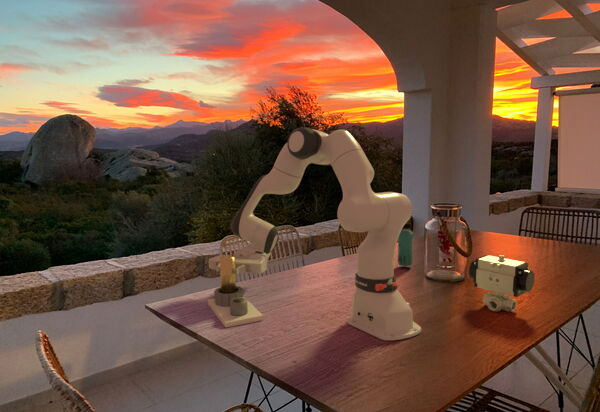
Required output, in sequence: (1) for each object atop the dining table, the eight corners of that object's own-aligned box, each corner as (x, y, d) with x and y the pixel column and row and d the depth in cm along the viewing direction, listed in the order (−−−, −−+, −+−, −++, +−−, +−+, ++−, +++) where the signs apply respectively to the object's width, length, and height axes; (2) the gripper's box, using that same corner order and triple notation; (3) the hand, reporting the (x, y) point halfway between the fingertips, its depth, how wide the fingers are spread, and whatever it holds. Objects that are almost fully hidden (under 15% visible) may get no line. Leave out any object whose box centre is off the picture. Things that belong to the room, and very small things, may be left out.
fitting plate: (263, 320, 130) (262, 302, 130) (225, 327, 125) (224, 309, 125) (241, 297, 150) (240, 282, 149) (207, 303, 145) (206, 287, 144)
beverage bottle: (412, 265, 188) (413, 221, 185) (412, 270, 181) (413, 224, 179) (397, 265, 189) (398, 221, 187) (397, 269, 183) (397, 223, 180)
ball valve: (465, 304, 141) (467, 253, 139) (477, 298, 146) (480, 248, 144) (521, 321, 127) (524, 263, 125) (532, 313, 133) (536, 258, 130)
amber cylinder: (237, 292, 141) (236, 258, 139) (223, 295, 139) (221, 259, 137) (233, 288, 146) (232, 254, 144) (219, 290, 143) (218, 256, 142)
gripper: (219, 249, 156) (199, 258, 143) (270, 253, 149) (253, 263, 137) (220, 265, 157) (199, 276, 144) (270, 270, 150) (254, 282, 137)
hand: (226, 270), depth 140 cm, fingers closed on amber cylinder, 5 cm apart
